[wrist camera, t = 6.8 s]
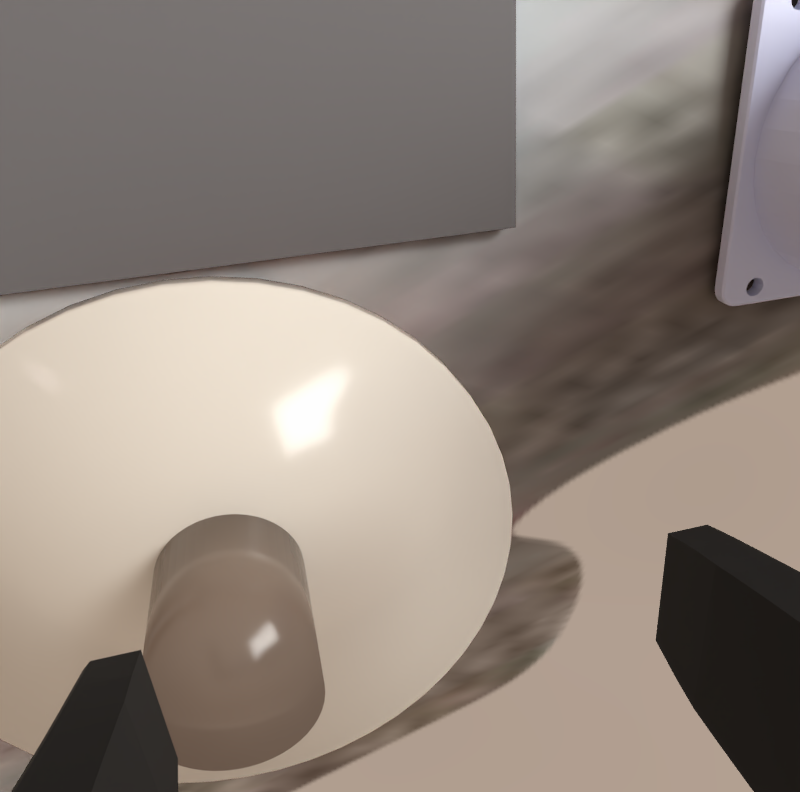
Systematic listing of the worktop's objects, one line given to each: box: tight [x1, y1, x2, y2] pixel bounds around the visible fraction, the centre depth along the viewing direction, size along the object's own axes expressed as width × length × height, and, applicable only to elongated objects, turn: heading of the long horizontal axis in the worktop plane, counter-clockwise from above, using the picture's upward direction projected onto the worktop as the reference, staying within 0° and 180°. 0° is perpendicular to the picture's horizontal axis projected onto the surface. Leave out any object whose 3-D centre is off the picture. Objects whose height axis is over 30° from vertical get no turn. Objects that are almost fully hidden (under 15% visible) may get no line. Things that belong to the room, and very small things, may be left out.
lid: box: [0, 276, 513, 783], centre depth 14 cm, size 13×13×4 cm
